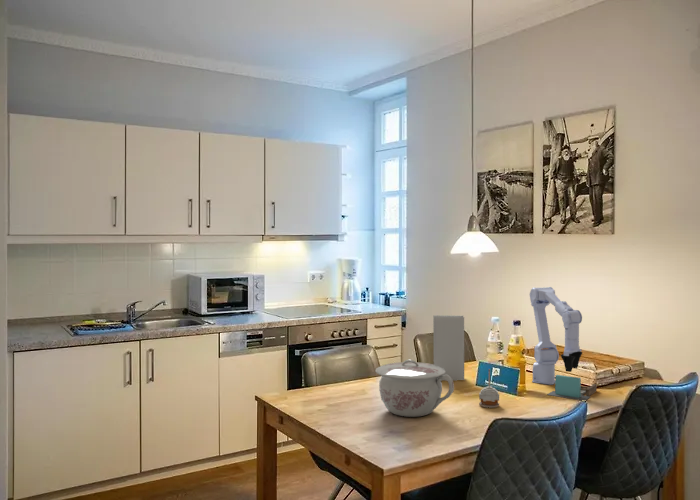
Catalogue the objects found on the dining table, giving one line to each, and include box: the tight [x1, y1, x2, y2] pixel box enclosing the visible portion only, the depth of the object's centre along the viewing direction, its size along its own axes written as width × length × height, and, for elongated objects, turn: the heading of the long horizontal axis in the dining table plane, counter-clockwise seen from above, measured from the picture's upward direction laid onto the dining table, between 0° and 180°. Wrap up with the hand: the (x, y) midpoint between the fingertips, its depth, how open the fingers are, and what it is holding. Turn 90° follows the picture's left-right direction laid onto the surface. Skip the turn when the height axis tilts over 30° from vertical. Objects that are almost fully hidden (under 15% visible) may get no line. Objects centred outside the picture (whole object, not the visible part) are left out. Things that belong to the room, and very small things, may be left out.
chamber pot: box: [375, 359, 455, 418], centre depth 244 cm, size 28×28×21 cm
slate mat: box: [546, 390, 591, 401], centre depth 265 cm, size 16×7×1 cm, turn 53°
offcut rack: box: [581, 383, 598, 397], centre depth 273 cm, size 14×11×3 cm
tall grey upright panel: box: [432, 315, 465, 381], centre depth 297 cm, size 14×6×30 cm, turn 84°
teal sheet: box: [554, 374, 582, 398], centre depth 265 cm, size 10×2×8 cm, turn 53°
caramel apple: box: [478, 368, 500, 409], centre depth 252 cm, size 8×8×15 cm
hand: (571, 369), depth 270 cm, fingers open, 7 cm apart
